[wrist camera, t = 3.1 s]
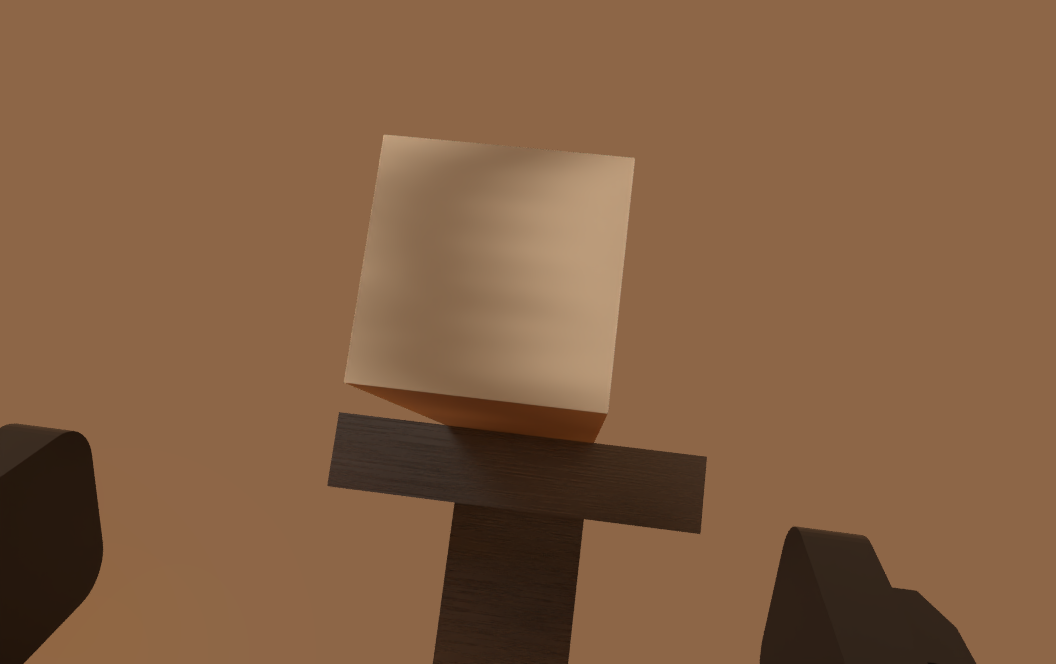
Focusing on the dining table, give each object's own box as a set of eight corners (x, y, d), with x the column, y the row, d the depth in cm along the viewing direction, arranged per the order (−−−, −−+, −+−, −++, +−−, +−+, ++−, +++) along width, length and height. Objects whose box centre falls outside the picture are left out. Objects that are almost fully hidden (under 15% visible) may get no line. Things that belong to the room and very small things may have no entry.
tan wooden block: (343, 382, 12) (423, -110, 14) (500, 447, 38) (523, 272, 39) (608, 413, 12) (661, -94, 13) (586, 458, 38) (606, 281, 39)
